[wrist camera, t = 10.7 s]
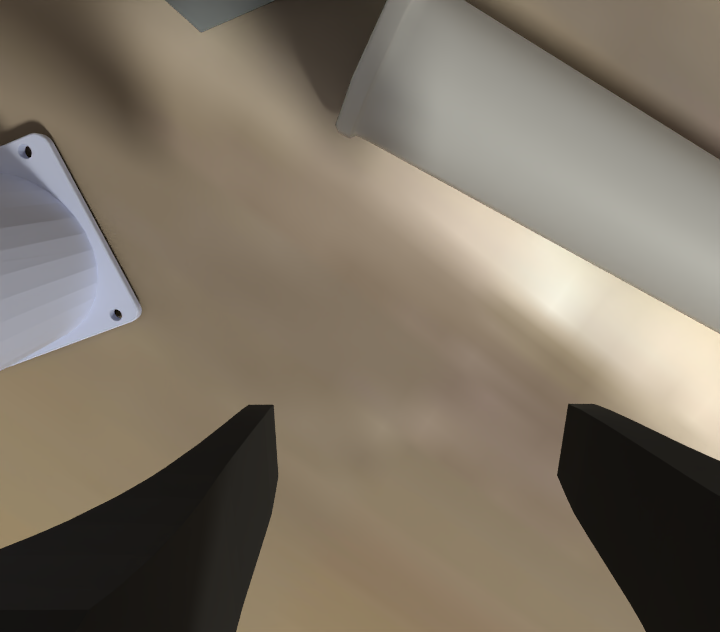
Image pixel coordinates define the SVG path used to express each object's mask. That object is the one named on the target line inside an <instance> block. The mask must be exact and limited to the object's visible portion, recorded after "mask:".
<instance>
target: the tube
mask: <svg viewBox="0 0 720 632" xmlns="http://www.w3.org/2000/svg"><path fill="white" fill-rule="evenodd" d="M336 127H337V129H338V132H339V133H340V134H342V135H344V136H346V137H348V138H351V137H353V136H358V137H361V138H363V139H365V140H367V141H369V142H371V143H373V144H374V145H376V146H378V147H380V148H382V149H384V150H385V151H387V152H389V153H391V154H393V155H395V156H396V157H398V158H400V159H402V160H404V161H405V162H407V163H409V164H411V165H413V166H415V167H416V168H418V169H420V170H422V171H424V172H426V173H427V174H429V175H431V176H433V177H435V178H437V179H438V180H440V181H442V182H444V183H446V184H447V185H449V186H451V187H453V188H455V189H457V190H458V191H460V192H462V193H464V194H466V195H468V196H469V197H471V198H473V199H475V200H477V201H479V202H480V203H482V204H484V205H486V206H488V207H489V208H491V209H493V210H495V211H497V212H499V213H500V214H502V215H504V216H506V217H508V218H510V219H511V220H513V221H515V222H517V223H519V224H520V225H522V226H524V227H526V228H528V229H530V230H531V231H533V232H535V233H537V234H539V235H541V236H542V237H544V238H546V239H548V240H550V241H552V242H553V243H555V244H557V245H559V246H561V247H562V248H564V249H566V250H568V251H570V252H572V253H573V254H575V255H577V256H579V257H581V258H583V259H584V260H586V261H588V262H590V263H592V264H594V265H595V266H597V267H599V268H601V269H603V270H604V271H606V272H608V273H610V274H612V275H614V276H615V277H617V278H619V279H621V280H623V281H625V282H626V283H628V284H630V285H632V286H634V287H635V288H637V289H639V290H641V291H643V292H645V293H646V294H648V295H650V296H652V297H654V298H656V299H657V300H659V301H661V302H663V303H665V304H667V305H668V306H670V307H672V308H674V309H676V310H677V311H679V312H681V313H683V314H685V315H687V316H688V317H690V318H692V319H694V320H696V321H698V322H699V323H701V324H703V325H705V326H707V327H709V328H710V329H712V330H714V331H716V332H718V333H719V334H720V160H719V159H718V158H716V157H714V156H713V155H711V154H710V153H708V152H706V151H705V150H703V149H702V148H700V147H698V146H697V145H695V144H694V143H692V142H690V141H689V140H687V139H686V138H684V137H682V136H681V135H679V134H678V133H676V132H674V131H673V130H671V129H670V128H668V127H666V126H665V125H663V124H662V123H660V122H658V121H657V120H655V119H654V118H652V117H650V116H649V115H647V114H646V113H644V112H642V111H641V110H639V109H638V108H636V107H634V106H633V105H631V104H629V103H628V102H626V101H625V100H623V99H621V98H620V97H618V96H617V95H615V94H613V93H612V92H610V91H609V90H607V89H605V88H604V87H602V86H601V85H599V84H597V83H596V82H594V81H593V80H591V79H589V78H588V77H586V76H585V75H583V74H581V73H580V72H578V71H577V70H575V69H573V68H572V67H570V66H569V65H567V64H565V63H564V62H562V61H561V60H559V59H557V58H556V57H554V56H552V55H551V54H549V53H548V52H546V51H544V50H543V49H541V48H540V47H538V46H536V45H535V44H533V43H532V42H530V41H528V40H527V39H525V38H524V37H522V36H520V35H519V34H517V33H516V32H514V31H512V30H511V29H509V28H508V27H506V26H504V25H503V24H501V23H500V22H498V21H496V20H495V19H493V18H492V17H490V16H488V15H487V14H485V13H484V12H482V11H480V10H479V9H477V8H476V7H474V6H472V5H471V4H469V3H467V2H466V1H464V0H387V1H386V3H385V6H384V8H383V10H382V12H381V14H380V17H379V19H378V21H377V23H376V25H375V28H374V30H373V32H372V34H371V36H370V39H369V41H368V43H367V45H366V48H365V50H364V52H363V54H362V56H361V59H360V61H359V63H358V65H357V67H356V70H355V72H354V74H353V76H352V79H351V82H350V85H349V88H348V90H347V93H346V96H345V99H344V102H343V105H342V108H341V110H340V113H339V116H338V119H337V122H336Z"/></svg>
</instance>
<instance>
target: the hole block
mask: <svg viewBox="0 0 720 632" xmlns="http://www.w3.org/2000/svg"><path fill="white" fill-rule="evenodd" d="M165 1H166V2H168V3H169V4H170V5H171V6H172V7H173V8H174V9H175V10H177V11H178V12H179V13H180V14H181V15H182V16H183V17H184V18H185V19H187V20H188V21H189V22H190V23H191V24H192V25H193V26H194V27H195V28H197V29H198V30H199V31H200V32H203V31H206V30H208V29H210V28H213V27H215V26H217V25H220V24H222V23H224V22H226V21H229V20H231V19H233V18H236V17H238V16H240V15H243V14H245V13H247V12H249V11H252V10H254V9H256V8H259V7H261V6H263V5H266V4H268V3H270V2H272V1H275V0H165Z"/></svg>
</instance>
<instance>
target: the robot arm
mask: <svg viewBox="0 0 720 632" xmlns="http://www.w3.org/2000/svg"><path fill="white" fill-rule="evenodd" d="M27 146H29V148H30V149H31V151H32V155H31V157H30V158H29V157H28V156H27V155H26V153H25V148H26V147H27ZM115 309H117V310H119V311H120V312H121V313H122V318H119V317H117V316H116V315H115V312H114V311H115ZM141 312H142V309H141V305H140V303H139V302H138V300H137V298H136V296H135V294H134V292H133V290H132V289H131V287H130V285H129V283H128V281H127V279H126V277H125V275H124V274H123V272H122V270H121V268H120V266H119V264H118V262H117V261H116V259H115V257H114V255H113V253H112V251H111V249H110V247H109V246H108V244H107V242H106V240H105V238H104V236H103V234H102V233H101V231H100V229H99V227H98V225H97V223H96V221H95V219H94V218H93V216H92V214H91V212H90V210H89V208H88V206H87V205H86V203H85V201H84V199H83V197H82V195H81V193H80V191H79V190H78V188H77V186H76V184H75V182H74V180H73V178H72V177H71V175H70V173H69V171H68V169H67V167H66V165H65V163H64V162H63V160H62V158H61V156H60V154H59V152H58V150H57V149H56V147H55V145H54V143H53V142H52V140H51V139H50V138H49V137H48V136H46V135H44V134H39V133H31V134H28V135H26V136H23V137H21V138H19V139H16V140H14V141H12V142H9V143H7V144H5V145H2V146H0V371H1V370H3V369H5V368H7V367H10V366H13V365H15V364H18V363H21V362H23V361H26V360H29V359H32V358H34V357H37V356H40V355H42V354H45V353H48V352H51V351H53V350H56V349H59V348H61V347H64V346H67V345H70V344H72V343H75V342H78V341H80V340H83V339H86V338H89V337H91V336H94V335H97V334H99V333H102V332H105V331H108V330H110V329H113V328H116V327H118V326H121V325H124V324H127V323H129V322H132V321H134V320H135V319H137V318H138V317H140V315H141ZM557 476H558V478H559V481H560V483H561V485H562V488H563V490H564V492H565V495H566V497H567V499H568V501H569V503H570V506H571V508H572V510H573V512H574V514H575V516H576V517H577V519H578V521H579V522H580V524H581V526H582V527H583V529H584V530H585V532H586V534H587V535H588V537H589V539H590V540H591V542H592V543H593V545H594V547H595V548H596V550H597V551H598V553H599V555H600V556H601V558H602V559H603V561H604V563H605V564H606V566H607V567H608V569H609V571H610V572H611V574H612V575H613V577H614V579H615V580H616V582H617V583H618V585H619V587H620V588H621V590H622V591H623V593H624V595H625V596H626V598H627V599H628V601H629V603H630V604H631V606H632V608H633V609H634V611H635V613H636V615H637V616H638V618H639V620H640V622H641V623H642V625H643V627H644V629H645V631H646V632H720V461H719V460H716V459H714V458H712V457H709V456H707V455H705V454H703V453H700V452H698V451H696V450H694V449H692V448H689V447H687V446H685V445H683V444H681V443H679V442H677V441H674V440H672V439H670V438H668V437H666V436H664V435H662V434H660V433H658V432H656V431H654V430H652V429H649V428H647V427H645V426H643V425H641V424H639V423H637V422H635V421H633V420H631V419H629V418H626V417H624V416H622V415H620V414H618V413H615V412H613V411H611V410H608V409H606V408H603V407H601V406H598V405H595V404H568V409H567V416H566V422H565V428H564V435H563V441H562V448H561V454H560V460H559V467H558V473H557ZM277 481H278V464H277V449H276V434H275V420H274V405H248V406H246V407H245V408H244V409H242V410H241V411H240V412H238V413H237V414H236V415H235V416H233V417H232V418H231V419H230V420H228V421H227V422H226V423H225V424H223V425H222V426H221V427H220V428H218V429H217V430H216V431H215V432H213V433H212V434H211V435H210V436H208V437H207V438H206V439H204V440H203V441H202V442H201V443H199V444H198V445H197V446H195V447H194V448H192V449H191V450H190V451H188V452H187V453H185V454H184V455H182V456H181V457H180V458H178V459H177V460H175V461H174V462H173V463H171V464H170V465H168V466H167V467H165V468H164V469H162V470H161V471H159V472H158V473H156V474H155V475H153V476H151V477H150V478H148V479H147V480H145V481H143V482H141V483H140V484H138V485H136V486H135V487H133V488H131V489H129V490H128V491H126V492H124V493H122V494H121V495H119V496H117V497H115V498H113V499H111V500H109V501H107V502H105V503H103V504H101V505H99V506H97V507H95V508H93V509H91V510H89V511H87V512H85V513H83V514H81V515H79V516H77V517H75V518H73V519H71V520H69V521H66V522H64V523H62V524H60V525H58V526H55V527H53V528H51V529H48V530H46V531H44V532H41V533H39V534H37V535H34V536H32V537H29V538H27V539H24V540H22V541H19V542H17V543H14V544H12V545H9V546H7V547H4V548H2V549H0V632H236V630H237V626H238V622H239V618H240V615H241V611H242V607H243V604H244V601H245V597H246V594H247V591H248V588H249V585H250V582H251V578H252V575H253V572H254V569H255V566H256V563H257V559H258V556H259V553H260V550H261V547H262V543H263V540H264V537H265V534H266V531H267V527H268V524H269V521H270V517H271V514H272V509H273V503H274V498H275V492H276V487H277Z"/></svg>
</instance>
